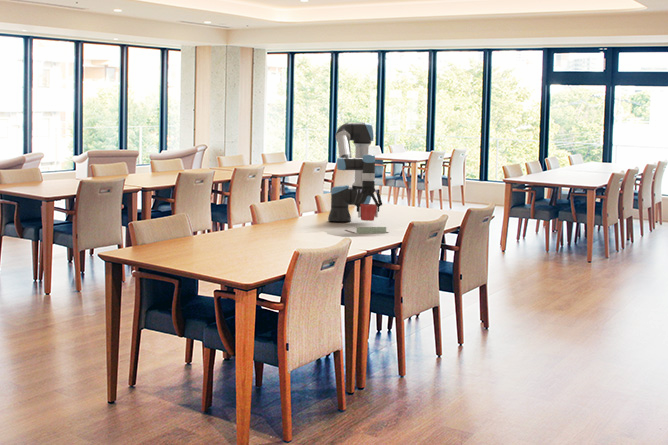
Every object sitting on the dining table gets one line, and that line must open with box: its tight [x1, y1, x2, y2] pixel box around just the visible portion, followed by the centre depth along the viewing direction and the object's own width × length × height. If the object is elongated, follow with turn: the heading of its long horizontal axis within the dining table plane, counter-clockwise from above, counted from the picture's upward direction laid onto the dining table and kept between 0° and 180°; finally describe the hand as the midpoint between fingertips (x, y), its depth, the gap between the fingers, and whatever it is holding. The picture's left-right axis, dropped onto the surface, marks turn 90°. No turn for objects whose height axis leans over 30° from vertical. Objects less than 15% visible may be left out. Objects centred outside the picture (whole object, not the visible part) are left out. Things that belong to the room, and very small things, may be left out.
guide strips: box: [344, 229, 390, 234], centre depth 464 cm, size 18×22×1 cm
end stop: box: [355, 226, 387, 234], centre depth 455 cm, size 2×18×4 cm, turn 106°
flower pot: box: [359, 203, 377, 222], centre depth 461 cm, size 11×11×10 cm
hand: (367, 217), depth 461 cm, fingers closed on flower pot, 10 cm apart
